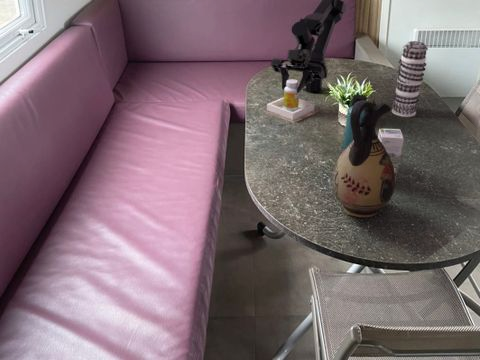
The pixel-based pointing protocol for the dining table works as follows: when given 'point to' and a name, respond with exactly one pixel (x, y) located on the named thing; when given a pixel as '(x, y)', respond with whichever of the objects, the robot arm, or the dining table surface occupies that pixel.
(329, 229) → the dining table surface
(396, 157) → the syrup box
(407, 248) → the dining table surface
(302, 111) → the dish
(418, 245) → the dining table surface
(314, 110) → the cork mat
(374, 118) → the ceramic jug
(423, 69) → the white banded cylinder
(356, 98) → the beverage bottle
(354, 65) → the dining table surface
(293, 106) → the supplement bottle
